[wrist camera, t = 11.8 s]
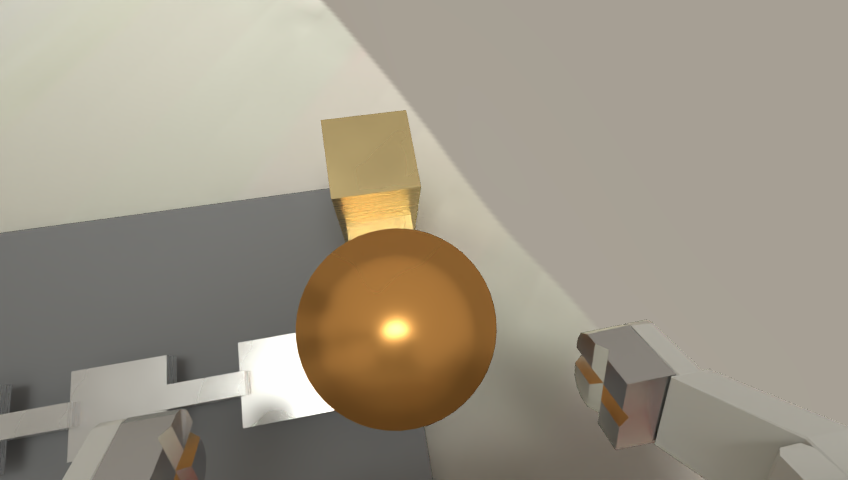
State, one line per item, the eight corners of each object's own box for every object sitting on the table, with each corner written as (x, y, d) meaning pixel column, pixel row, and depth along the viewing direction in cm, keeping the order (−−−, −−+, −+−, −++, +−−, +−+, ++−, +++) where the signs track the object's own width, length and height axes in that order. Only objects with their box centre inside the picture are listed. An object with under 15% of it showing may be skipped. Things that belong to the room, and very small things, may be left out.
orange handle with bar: (-279, 554, 13) (-1899, 965, 4) (-243, 408, 14) (-1414, 452, 5) (461, 406, 15) (559, 438, 6) (439, 293, 17) (495, 184, 8)
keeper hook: (358, 310, 17) (340, 272, 11) (343, 203, 18) (321, 120, 12) (420, 299, 17) (434, 257, 11) (401, 195, 18) (406, 110, 13)
